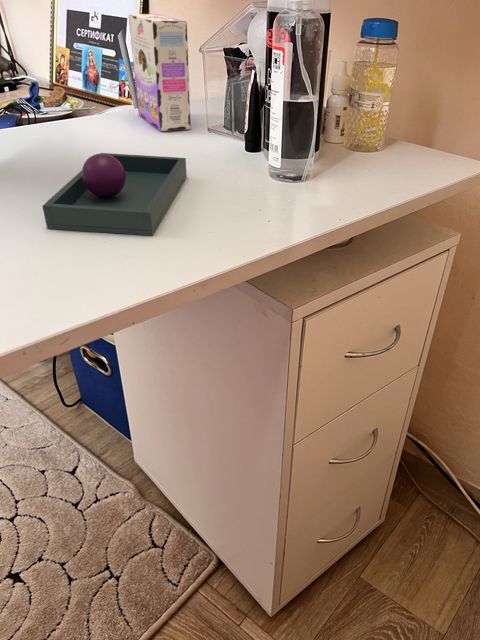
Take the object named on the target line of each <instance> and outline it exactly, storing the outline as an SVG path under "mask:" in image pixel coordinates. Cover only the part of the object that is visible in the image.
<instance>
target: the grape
mask: <svg viewBox="0 0 480 640" xmlns="http://www.w3.org/2000/svg"><path fill="white" fill-rule="evenodd" d="M104 153H105V152H100V153H95V154H93V155H90V156H89V157H88V158H87V159H86V160H85V162H84V163H83V165H82V168H81V171H82V179H83V182H84V184H85V186H86V188H87V189H88V190H89V191H90V192H91V193H93V194H94V195H96V196H98V197H103V198H109V197H113V196H115V195H117V194H118V193H119V192H120V191H121V190H122V189H123V187H124V185H125V181H126V174H125V170H124V168H123V166H122V164H121V163H120V162H119V161H118V160H117V159H116V158H115V157H113V156H111V155H108V154H104Z"/></svg>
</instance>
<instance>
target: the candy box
mask: <svg viewBox="0 0 480 640" xmlns="http://www.w3.org/2000/svg"><path fill="white" fill-rule="evenodd" d="M128 24H129V31H130V33H129V34H130V42H131V43H130V44H131V51H132V53H131V54H132V61H133V62H132V63H133V72H134V81H135V91H136V93H135V94H136V103H137V113H138V116H139V117H141V119H143V120H145V121H146V122H147V123H149V124H151V125H152V127H155V128H156V130H159V131H160V132H167V131H168V132H170V131H171V132H172V131H181V130H182V131H185V130H191V127H192V126H191V124H192V123H191V105H190V82H189V81H190V80H189V79H190V78H189V75H190V74H189V47H188V46H189V44H188V43H189V42H188V21H187V20H182V19H177V18H174V17H170V16H167V15H162V14H157V13H129V14H128Z"/></svg>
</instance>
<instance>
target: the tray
mask: <svg viewBox="0 0 480 640" xmlns="http://www.w3.org/2000/svg"><path fill="white" fill-rule="evenodd" d="M103 153H104V154H108V155H111V156H113V157H115V158H116V159H117V160H118V161H119V162H120V163H121V164H122V166H123V168H124V170H125V174H126V181H125V185H124V187H123V189H122V190H121V191H120V192H119V193H118V194H117V195H115V196H113V197H109V198H103V197H98V196H96V195H94V194H93V193H91V192H90V191H89V190H88V189H87V188H86V186H85V184H84V182H83V179H82V170H80V171H79V172H77V174H76V175H74V177H73V178H71V179H70V181H68V182H67V183H66V184H65V185H64V186H63V187H61V188H60V189H59V190H58V191H57V192H56V193H54V194H53V196H51V197H50V198H49V199H48V200H47V201H46V202H45V203H44V204H43V205H42V210H43V216H44V220H45V224H46V228H47V229H48V230H59V231H60V230H61V231H74V232H77V231H78V232H91V233H108V234H121V235H137V236H150V237H151V236H152V237H153V236H154V234H155V233H156V230H157V229H158V227H159V225H160V223H161V222H162V220H163V218H164V217H165V215H166V213H167V212H168V210H169V208H170V206H171V205H172V203H173V201H174V200H175V198H176V196H177V195H178V193H179V191H180V189H181V188H182V186H183V184H184V182H185V181H186V179H187V177H188V176H187V159H186V157H175V156H157V155H143V154H142V155H141V154H128V153H127V154H125V153H124V154H123V153H109V152H108V153H107V152H103Z"/></svg>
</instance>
